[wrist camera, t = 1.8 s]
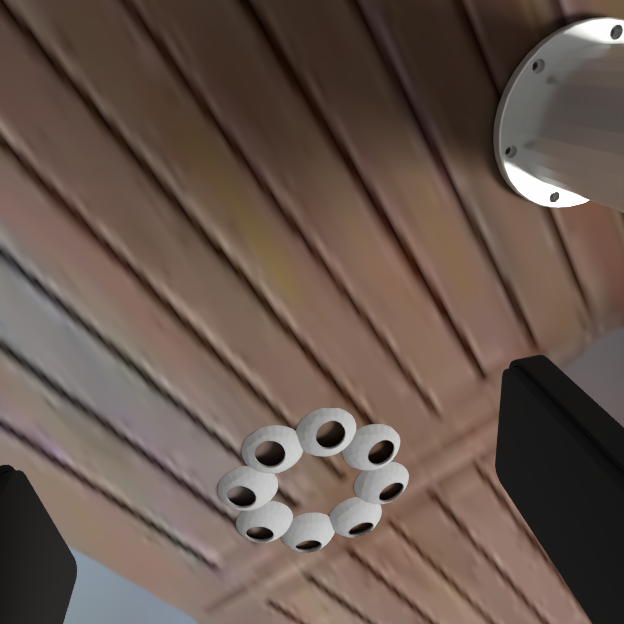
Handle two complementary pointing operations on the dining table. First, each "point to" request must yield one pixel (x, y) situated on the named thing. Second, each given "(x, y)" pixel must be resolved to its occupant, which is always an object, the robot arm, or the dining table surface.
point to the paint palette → (304, 438)
